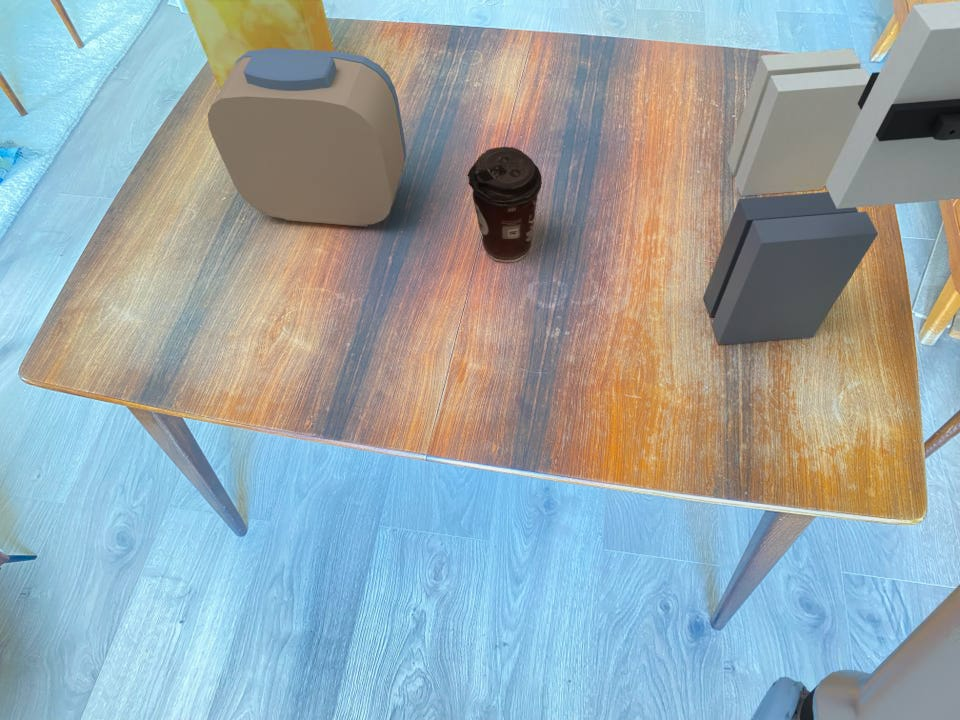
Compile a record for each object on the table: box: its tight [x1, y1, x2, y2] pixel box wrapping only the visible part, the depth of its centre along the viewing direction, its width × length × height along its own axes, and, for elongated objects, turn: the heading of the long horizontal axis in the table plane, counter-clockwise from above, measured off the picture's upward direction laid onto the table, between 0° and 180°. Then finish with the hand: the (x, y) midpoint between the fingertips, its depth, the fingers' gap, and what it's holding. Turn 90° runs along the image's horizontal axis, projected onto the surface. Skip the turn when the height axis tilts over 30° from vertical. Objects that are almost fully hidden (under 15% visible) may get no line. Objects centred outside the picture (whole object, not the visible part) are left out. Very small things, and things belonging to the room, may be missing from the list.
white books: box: [726, 47, 871, 197], centre depth 87 cm, size 7×11×16 cm, turn 94°
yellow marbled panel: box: [183, 0, 335, 90], centre depth 101 cm, size 18×12×24 cm
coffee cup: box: [466, 146, 543, 264], centre depth 83 cm, size 9×8×13 cm
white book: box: [824, 0, 960, 209], centre depth 52 cm, size 3×11×16 cm, turn 94°
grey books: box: [702, 191, 879, 346], centre depth 73 cm, size 7×11×17 cm, turn 94°
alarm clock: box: [207, 48, 407, 228], centre depth 85 cm, size 21×10×22 cm, turn 81°
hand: (876, 107), depth 51 cm, fingers closed on white book, 3 cm apart
